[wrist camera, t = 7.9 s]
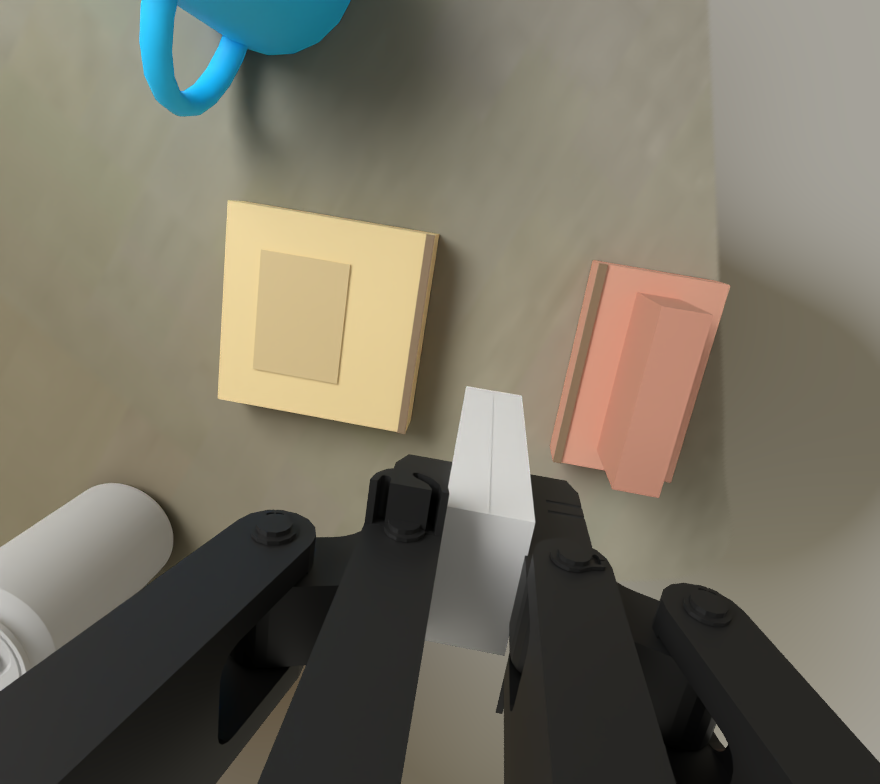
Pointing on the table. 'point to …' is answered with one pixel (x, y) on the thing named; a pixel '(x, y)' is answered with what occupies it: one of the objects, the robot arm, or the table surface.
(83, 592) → the beverage can
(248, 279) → the tan flat square block
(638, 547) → the table surface
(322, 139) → the table surface
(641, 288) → the pink stepped block
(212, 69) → the mug
